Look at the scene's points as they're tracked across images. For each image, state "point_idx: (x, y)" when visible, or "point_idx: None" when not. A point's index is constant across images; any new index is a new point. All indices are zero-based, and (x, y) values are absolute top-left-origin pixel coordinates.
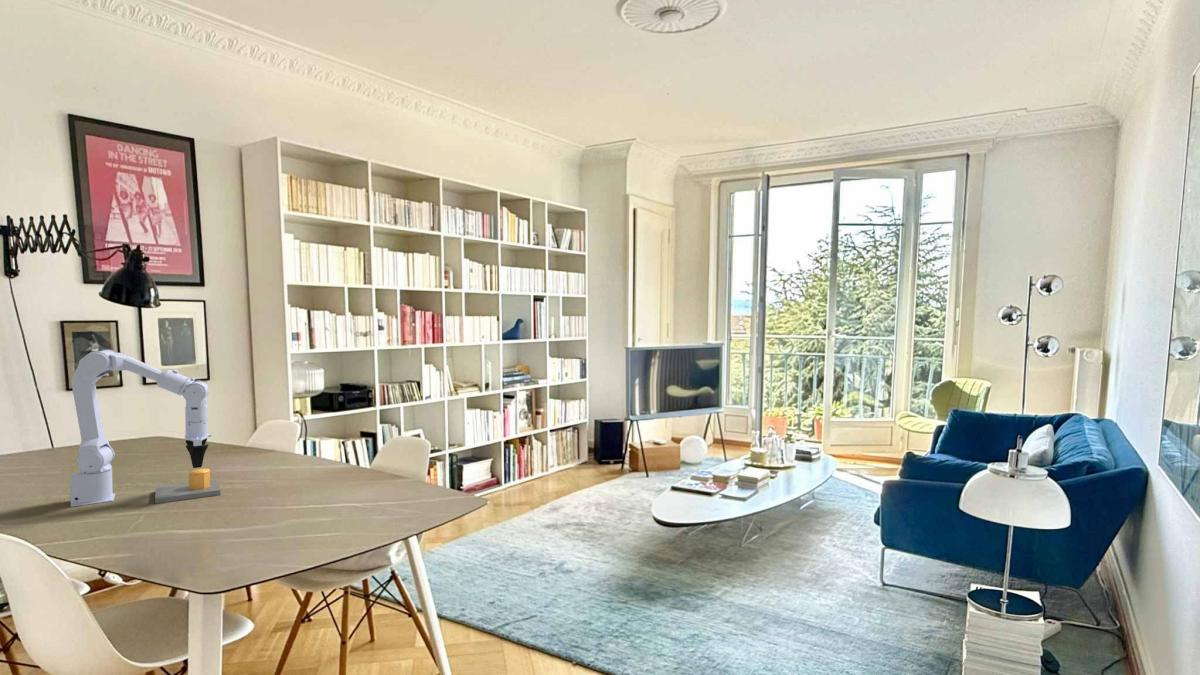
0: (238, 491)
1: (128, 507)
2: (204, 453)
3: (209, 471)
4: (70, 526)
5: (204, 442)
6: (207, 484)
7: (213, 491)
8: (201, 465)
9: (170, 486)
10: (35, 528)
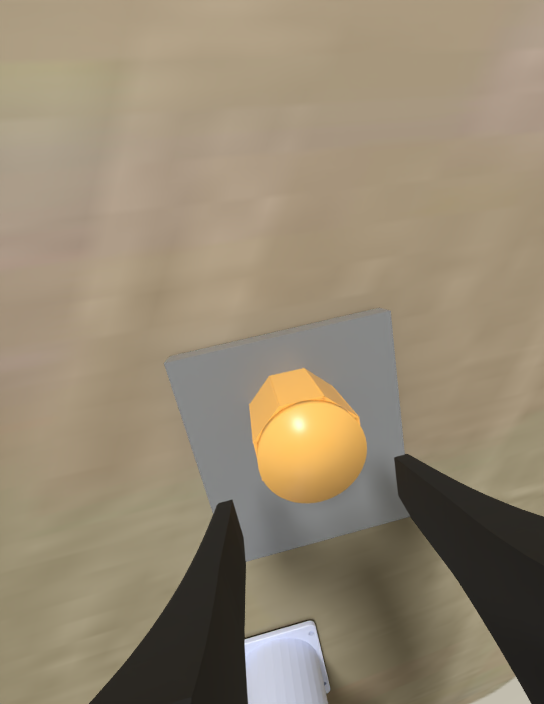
0: (336, 237)
1: (396, 558)
2: (523, 510)
3: (319, 401)
4: None
5: (205, 672)
6: (320, 381)
7: (392, 337)
8: (417, 460)
9: (243, 520)
10: (486, 668)
